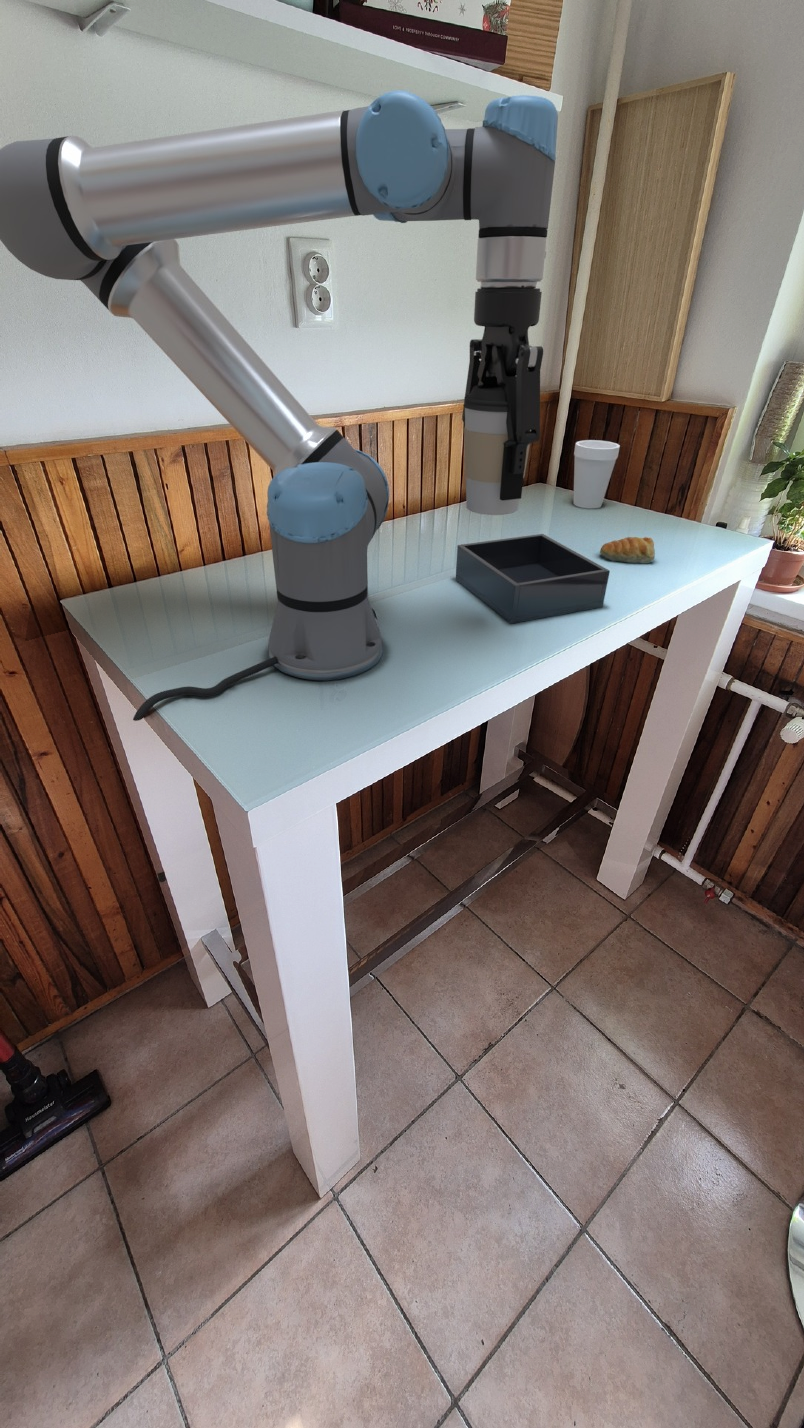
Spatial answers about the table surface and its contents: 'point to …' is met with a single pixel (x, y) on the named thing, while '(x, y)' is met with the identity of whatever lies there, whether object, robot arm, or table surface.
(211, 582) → the table surface
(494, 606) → the dark grey open box
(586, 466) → the foam cup
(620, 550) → the pastry
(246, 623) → the table surface
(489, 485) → the coffee cup
